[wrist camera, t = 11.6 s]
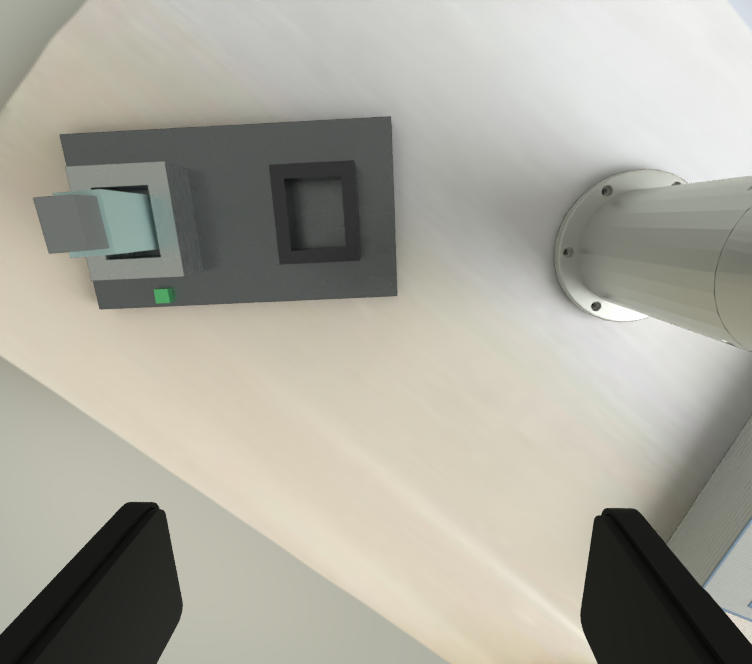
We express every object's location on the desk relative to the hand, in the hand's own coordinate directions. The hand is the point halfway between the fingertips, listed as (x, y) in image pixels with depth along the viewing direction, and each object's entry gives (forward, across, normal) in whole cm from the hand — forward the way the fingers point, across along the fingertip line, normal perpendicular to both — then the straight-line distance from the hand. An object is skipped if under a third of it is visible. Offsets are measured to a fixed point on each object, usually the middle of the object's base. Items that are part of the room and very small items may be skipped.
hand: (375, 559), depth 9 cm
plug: (+27, +20, -7) cm, 34 cm away
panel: (+28, +13, -7) cm, 32 cm away
